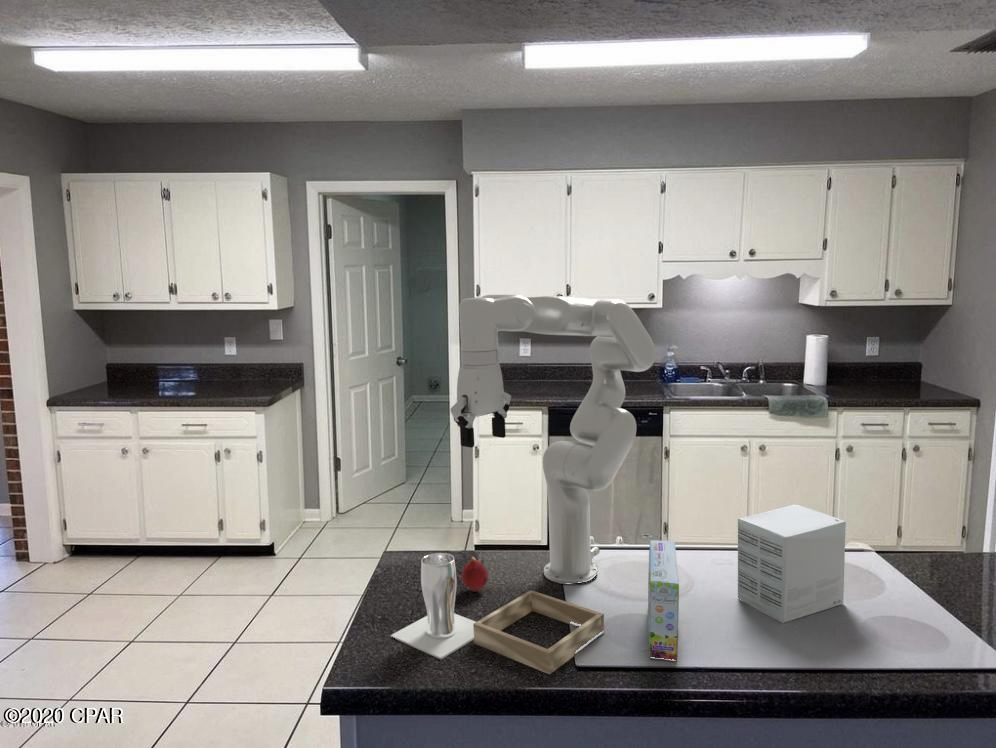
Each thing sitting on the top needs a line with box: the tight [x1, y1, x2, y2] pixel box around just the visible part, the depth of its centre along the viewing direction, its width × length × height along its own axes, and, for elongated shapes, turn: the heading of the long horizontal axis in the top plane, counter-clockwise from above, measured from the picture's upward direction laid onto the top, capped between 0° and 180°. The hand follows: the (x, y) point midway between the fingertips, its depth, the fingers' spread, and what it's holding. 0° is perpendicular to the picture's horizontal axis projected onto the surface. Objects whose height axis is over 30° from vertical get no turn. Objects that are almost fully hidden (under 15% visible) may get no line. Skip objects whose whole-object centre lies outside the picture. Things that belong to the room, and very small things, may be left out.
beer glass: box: [420, 552, 458, 639], centre depth 141 cm, size 7×7×15 cm
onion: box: [461, 556, 489, 593], centre depth 159 cm, size 6×6×8 cm
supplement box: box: [737, 503, 847, 624], centre depth 148 cm, size 17×13×18 cm
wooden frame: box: [473, 590, 605, 675], centre depth 138 cm, size 18×18×4 cm
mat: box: [390, 612, 477, 660], centre depth 142 cm, size 14×14×1 cm
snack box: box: [647, 539, 680, 661], centre depth 138 cm, size 21×6×15 cm, turn 168°
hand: (483, 441), depth 147 cm, fingers open, 9 cm apart
